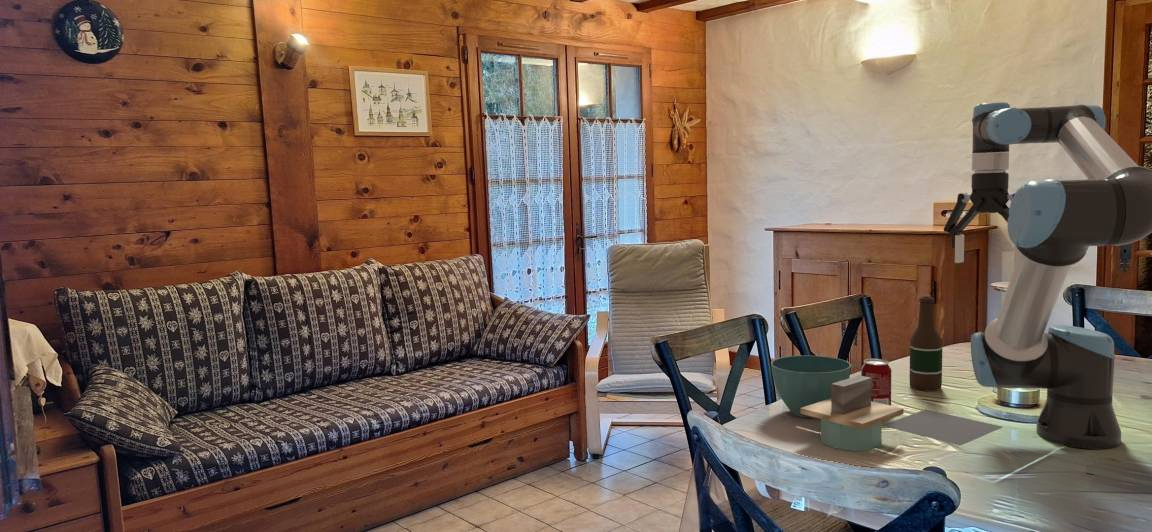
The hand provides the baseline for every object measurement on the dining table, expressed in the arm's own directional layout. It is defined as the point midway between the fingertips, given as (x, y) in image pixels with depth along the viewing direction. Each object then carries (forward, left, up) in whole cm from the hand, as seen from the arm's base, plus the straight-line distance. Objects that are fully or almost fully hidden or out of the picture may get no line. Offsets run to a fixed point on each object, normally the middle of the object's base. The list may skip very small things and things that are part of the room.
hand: (988, 264), depth 186 cm
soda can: (+17, +18, -35) cm, 43 cm away
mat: (0, +19, -35) cm, 40 cm away
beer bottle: (+20, -9, -35) cm, 41 cm away
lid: (+8, +41, -29) cm, 51 cm away
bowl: (+8, +41, -35) cm, 54 cm away
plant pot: (+26, +31, -35) cm, 53 cm away
